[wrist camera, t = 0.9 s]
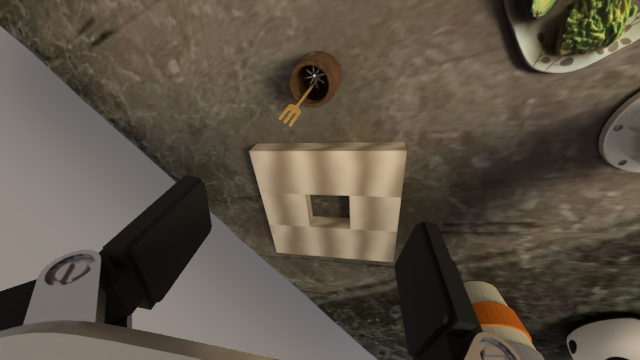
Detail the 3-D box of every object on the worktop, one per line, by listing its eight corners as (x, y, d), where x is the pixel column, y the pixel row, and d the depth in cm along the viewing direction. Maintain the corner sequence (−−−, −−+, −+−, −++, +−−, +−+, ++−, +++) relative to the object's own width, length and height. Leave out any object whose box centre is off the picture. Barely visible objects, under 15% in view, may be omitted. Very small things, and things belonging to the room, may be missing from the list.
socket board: (404, 141, 35) (406, 150, 33) (392, 250, 48) (393, 262, 46) (256, 143, 40) (248, 151, 38) (281, 242, 53) (277, 252, 50)
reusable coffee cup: (475, 316, 55) (506, 399, 43) (430, 295, 54) (448, 375, 42) (522, 291, 48) (575, 383, 36) (471, 267, 47) (508, 353, 35)
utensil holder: (351, 68, 31) (343, 87, 21) (325, 106, 35) (307, 139, 25) (314, 39, 30) (287, 46, 20) (291, 82, 34) (259, 106, 24)
